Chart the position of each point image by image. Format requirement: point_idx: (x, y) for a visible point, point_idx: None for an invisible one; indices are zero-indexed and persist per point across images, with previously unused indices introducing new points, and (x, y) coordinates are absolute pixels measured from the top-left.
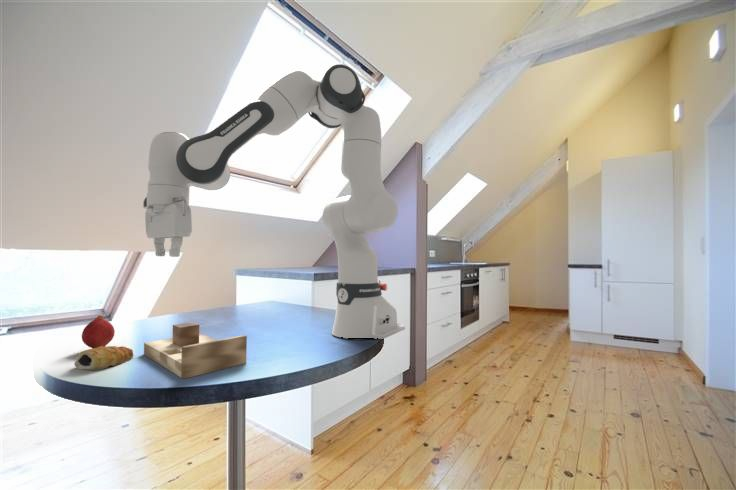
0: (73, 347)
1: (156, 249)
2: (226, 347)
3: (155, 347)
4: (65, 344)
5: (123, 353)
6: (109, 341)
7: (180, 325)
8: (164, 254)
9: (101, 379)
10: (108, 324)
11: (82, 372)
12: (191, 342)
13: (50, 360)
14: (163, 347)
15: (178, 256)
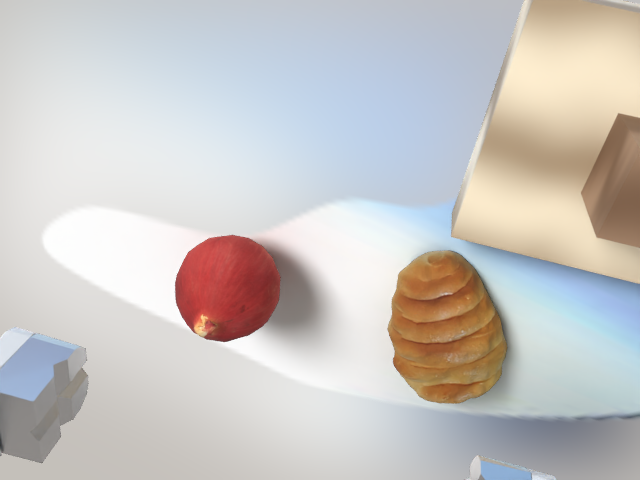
0: (137, 264)
1: (5, 449)
2: None
3: (572, 260)
4: (69, 256)
5: (486, 311)
6: (268, 253)
7: None
8: (74, 358)
9: (591, 389)
10: (245, 296)
11: None
12: None
13: (262, 354)
14: (605, 247)
15: (551, 476)
